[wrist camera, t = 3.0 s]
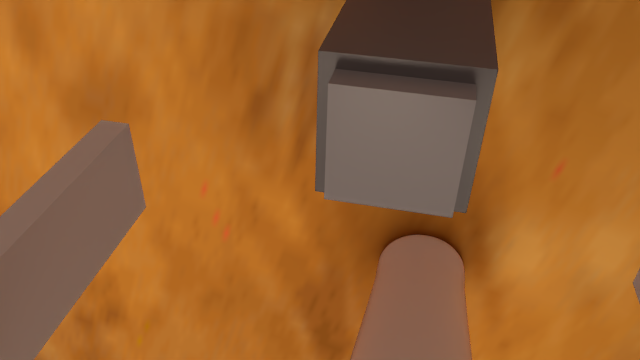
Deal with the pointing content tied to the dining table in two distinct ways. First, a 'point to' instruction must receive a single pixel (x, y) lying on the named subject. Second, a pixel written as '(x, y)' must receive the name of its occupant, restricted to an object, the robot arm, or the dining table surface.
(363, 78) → the plug
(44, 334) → the robot arm
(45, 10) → the dining table surface
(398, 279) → the drinking glass
